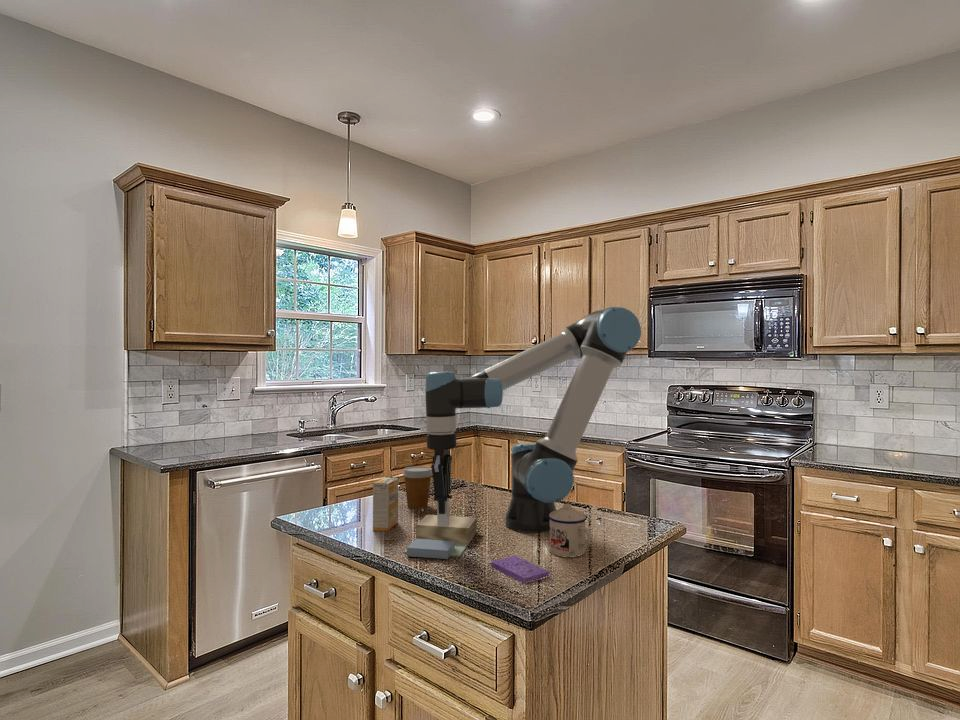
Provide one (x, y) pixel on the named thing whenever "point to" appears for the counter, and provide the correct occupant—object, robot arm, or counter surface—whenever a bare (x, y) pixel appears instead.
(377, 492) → the supplement box
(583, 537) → the teacup with lid
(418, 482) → the disposable coffee cup
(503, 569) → the sponges
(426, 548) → the blue-grey rectangular block
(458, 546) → the mat
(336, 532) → the counter surface
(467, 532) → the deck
